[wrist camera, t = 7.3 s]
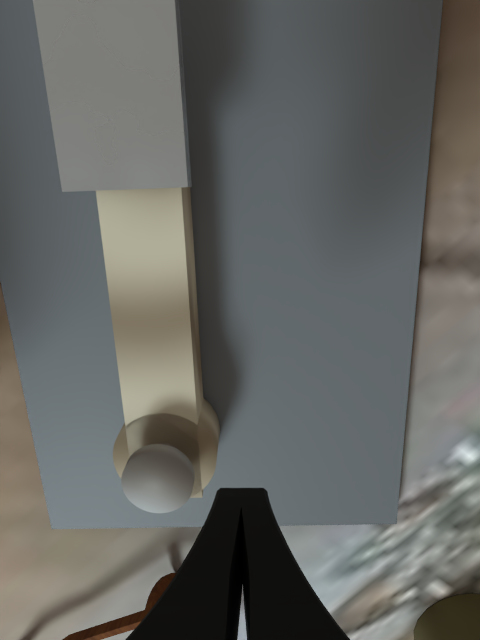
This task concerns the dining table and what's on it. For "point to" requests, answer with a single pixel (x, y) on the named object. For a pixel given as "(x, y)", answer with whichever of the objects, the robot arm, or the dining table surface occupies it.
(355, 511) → the charcoal board
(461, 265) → the dining table surface
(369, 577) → the dining table surface
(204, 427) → the wooden link
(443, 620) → the cork
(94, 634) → the glasses
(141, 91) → the block
